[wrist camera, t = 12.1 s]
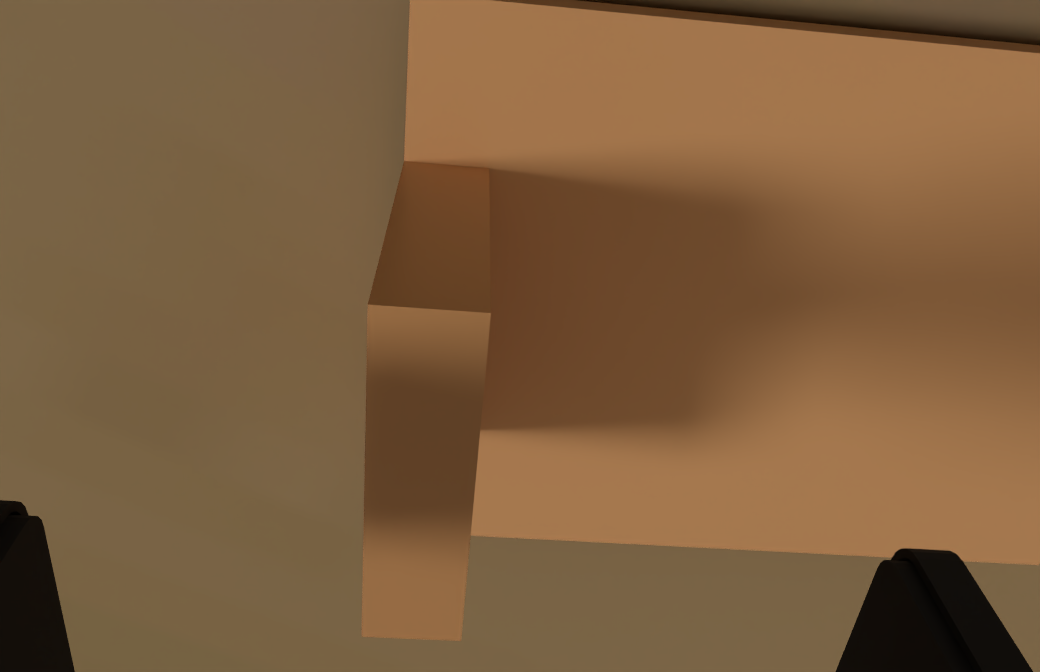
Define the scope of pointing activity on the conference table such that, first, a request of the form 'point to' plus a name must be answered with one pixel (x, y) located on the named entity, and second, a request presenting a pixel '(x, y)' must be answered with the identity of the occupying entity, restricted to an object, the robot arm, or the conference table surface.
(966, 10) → the conference table surface
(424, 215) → the lid
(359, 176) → the conference table surface
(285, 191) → the conference table surface
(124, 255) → the conference table surface
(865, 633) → the robot arm
